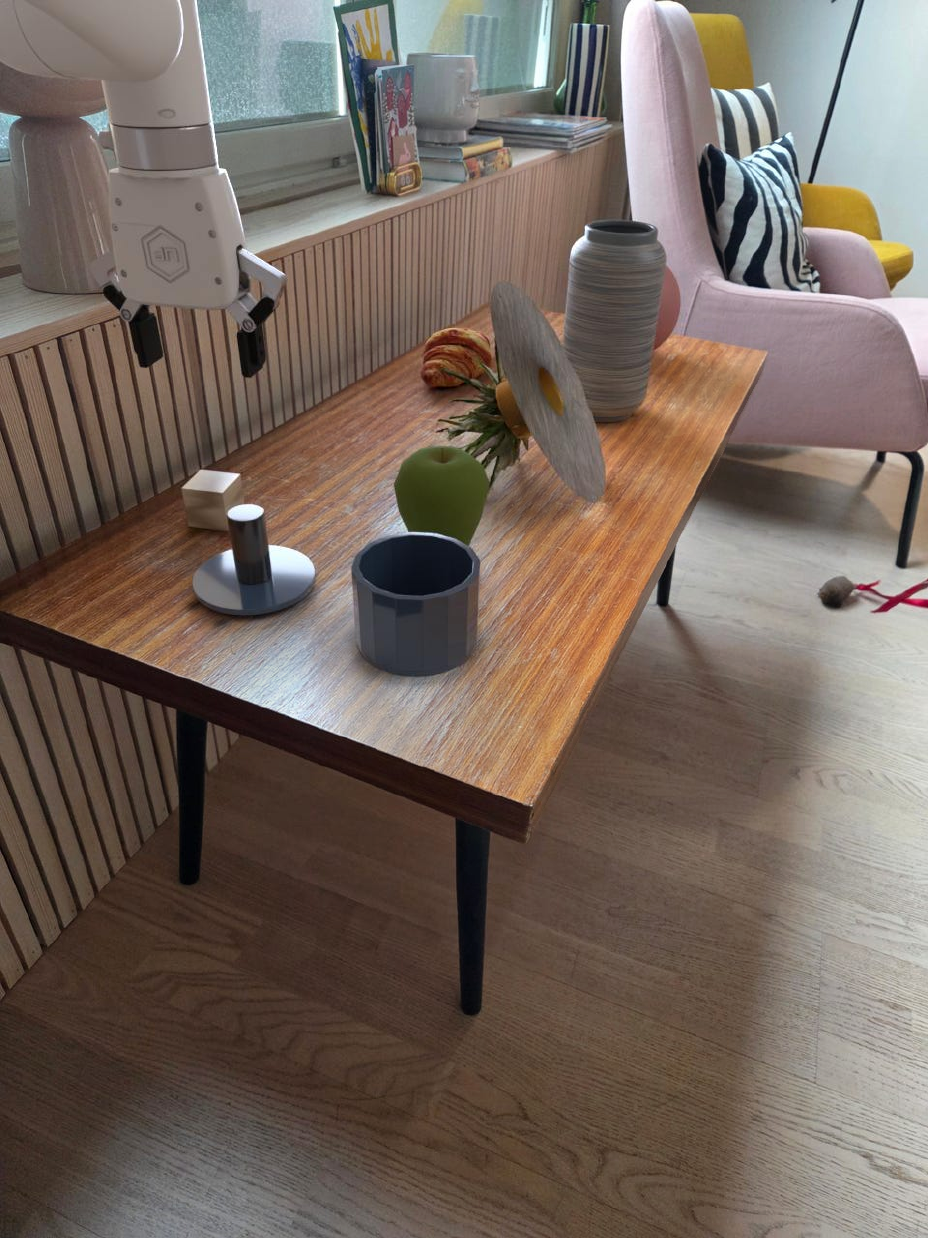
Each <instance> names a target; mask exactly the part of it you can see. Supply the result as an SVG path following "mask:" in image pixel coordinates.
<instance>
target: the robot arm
mask: <svg viewBox="0 0 928 1238" xmlns="http://www.w3.org/2000/svg"><path fill="white" fill-rule="evenodd" d="M200 25H201V24H200V17H199V11H198V3H197V0H0V62H1V63H2V64H4V65H5V66H7V67H9V68H10V69H13V70H16V71H17V72H20V73H23V74H27V75H30V76H31V75H32V76H37V77H44V78H57V79H70V80H79V79H84V80H96V81H97V80H98V81H101V86H102V91H103V97H104V101H105V106H106V111H107V116H108V124H107V125H108V129H101V130H100V131H99V133H98V142H99V145H100V147H101V148H102V149H104V150H110V151H111V152H112V153H113V155H114V161H115V162H117V163H116V164H117V167H115V168H110V169H109V170H108V183H107V184H108V188H107V189H108V216H109V227H110V236H111V243H112V249H110V250H108V251H107V252H105V253H104V254H102V255H100V256H99V257H96V259H95V258H94V260H92V261H90V262H89V263H88V270H89V272H90V274H91V275H92V277H93V279H94V280H95V281H96V283H97V284H98V286H99V287H100V288H101V289H102V293H103V297H104V298H105V299H106V300H107V301H109V303H110V304H112V305H113V307H115V309H117V311H118V312H119V316H120V318H121V319H122V320H123V322H126V323H127V322H128V323H127V324H128V328H129V333H130V338H131V342H132V346H133V351H134V353H135V354H136V357H137V361H138V366H139V368H143V369H148V368H149V367H151V366H152V365H154V364H155V363H157V362H158V361H160V360H161V359H163V358H164V350H163V345H162V340H161V334H160V329H159V324H158V319H157V316H156V315H155V312H152V311H150V310H149V309H151V308H150V307H151V306H155V307H166V308H176V309H178V308H179V309H187V310H202V311H203V310H204V311H221V310H226V311H227V312H228V313H229V315H230V316H231V318H233V319H234V320H235V322H236V323H237V324H238V325H239V326H240V330H238V331H237V332H236V344H237V351H238V358H239V364H240V372H241V376H243V378H246V379H251V378H253V377H254V376H255V375H256V374H257V373H259V372H260V371H261V370H262V369H263V368H264V365H265V363H266V361H267V355H266V354H267V353H266V345H265V337H264V329H263V324H264V323H266V322H267V319H268V318H270V316H271V315H272V314H273V313H274V312H275V311H276V309H277V308H278V307H279V305H280V300H281V299H282V296H283V294H284V291H285V288H286V285H287V283H288V277H287V275H286V274H285V273H283V272H282V271H280V270H279V269H277V268H275V267H274V266H272V265H270V263H267V262H266V261H264V260H262V259H261V258H260V257H257V255H255V254H253V253H251V252H249V251H248V248H247V247H248V246H247V241H246V237H245V232H244V228H243V223H242V219H241V214H240V211H239V206H238V203H237V199H236V195H235V192H234V189H233V186H232V183H231V180H230V177H229V174H228V172H227V169H225V168H220V167H219V159H218V151H217V144H216V138H215V137H216V136H215V128H214V122H213V116H212V115H213V114H212V108H211V107H212V106H211V101H210V94H209V93H210V92H209V84H208V77H207V71H206V70H207V69H206V62H205V55H204V48H203V39H202V32H201V26H200ZM115 270H116V271H115ZM252 279H254V280H255V281H257V282H259V283H260V284H261V285H262V286H263V292H262V296H261V298H260V300H258V301H257V300H256V299H255V298H254V297H253V295H252V294H251V293H250V292H251V290H252Z"/></svg>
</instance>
